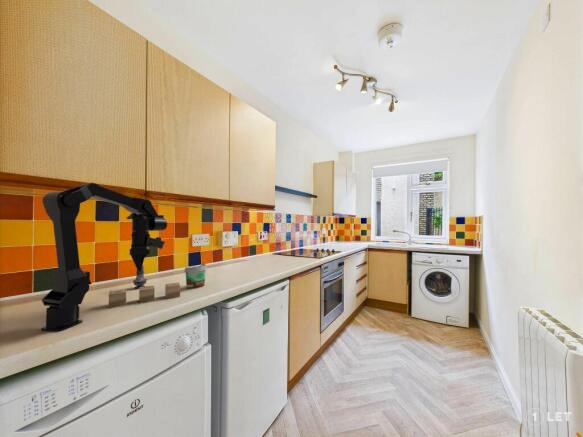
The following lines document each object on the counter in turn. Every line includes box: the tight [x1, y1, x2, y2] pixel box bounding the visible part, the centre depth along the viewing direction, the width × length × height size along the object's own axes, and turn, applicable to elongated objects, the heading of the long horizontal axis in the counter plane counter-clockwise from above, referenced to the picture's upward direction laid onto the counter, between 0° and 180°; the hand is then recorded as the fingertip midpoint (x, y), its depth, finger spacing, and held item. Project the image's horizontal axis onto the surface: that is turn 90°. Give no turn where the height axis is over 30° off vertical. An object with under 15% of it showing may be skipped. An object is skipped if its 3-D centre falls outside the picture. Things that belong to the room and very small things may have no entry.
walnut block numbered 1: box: [164, 282, 181, 300], centre depth 98 cm, size 5×5×5 cm
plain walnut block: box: [138, 285, 156, 304], centre depth 93 cm, size 5×5×5 cm
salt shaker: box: [132, 264, 148, 290], centre depth 112 cm, size 6×6×12 cm
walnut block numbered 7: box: [108, 288, 127, 309], centre depth 88 cm, size 5×5×5 cm
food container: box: [184, 263, 208, 290], centre depth 114 cm, size 12×6×10 cm, turn 161°
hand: (139, 270), depth 92 cm, fingers closed
